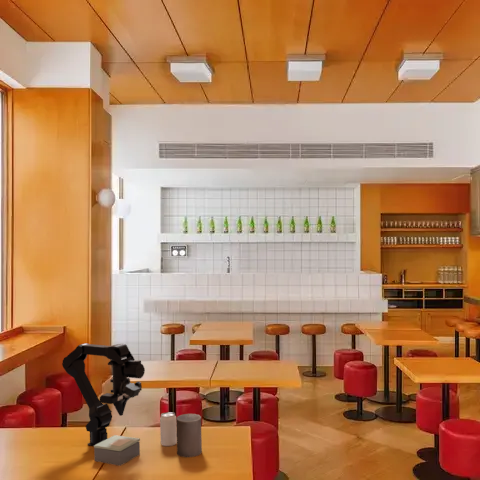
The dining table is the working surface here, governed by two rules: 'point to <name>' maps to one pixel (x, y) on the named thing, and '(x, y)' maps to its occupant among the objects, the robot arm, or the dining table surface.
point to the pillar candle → (189, 435)
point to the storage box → (117, 454)
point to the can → (168, 429)
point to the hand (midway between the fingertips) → (121, 415)
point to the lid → (117, 443)
